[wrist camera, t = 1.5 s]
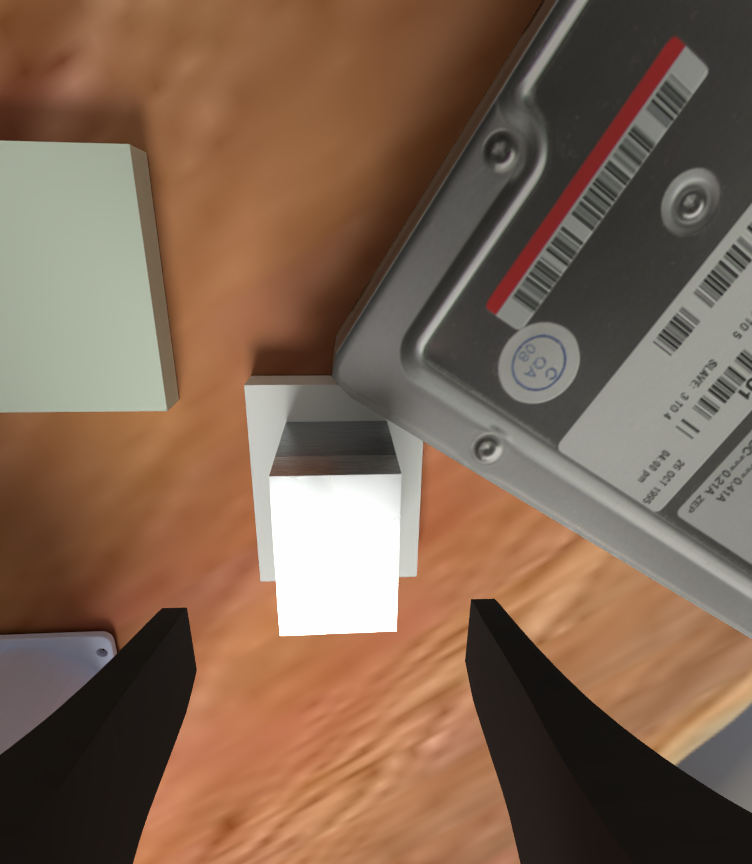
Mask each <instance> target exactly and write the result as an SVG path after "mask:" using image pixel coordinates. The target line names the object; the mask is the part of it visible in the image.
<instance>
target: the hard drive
mask: <svg viewBox="0 0 752 864" xmlns="http://www.w3.org/2000/svg"><path fill="white" fill-rule="evenodd" d="M332 378H333V379H334V380H335V381H336V382H337V383H338V385H339V386H340V387H341V388H342V389H343V390H344V391H345V392H346V393H347V394H348V395H349V396H350V397H351V398H352V399H354V400H356V401H357V402H359V403H361V404H362V405H364V406H366V407H367V408H369V409H371V410H372V411H374V412H376V413H377V414H379V415H381V416H382V417H384V418H385V419H387V420H389V421H390V422H392V423H394V424H395V425H397V426H399V427H400V428H402V429H404V430H405V431H407V432H409V433H410V434H412V435H414V436H415V437H417V438H419V439H420V440H422V441H424V442H425V443H427V444H429V445H430V446H432V447H434V448H435V449H437V450H439V451H440V452H442V453H444V454H445V455H447V456H449V457H450V458H452V459H454V460H455V461H457V462H459V463H460V464H462V465H464V466H465V467H467V468H469V469H470V470H472V471H474V472H475V473H477V474H479V475H480V476H482V477H484V478H485V479H487V480H489V481H490V482H492V483H494V484H495V485H497V486H499V487H500V488H502V489H503V490H505V491H507V492H508V493H510V494H512V495H513V496H515V497H517V498H518V499H520V500H522V501H523V502H525V503H527V504H528V505H530V506H532V507H533V508H535V509H537V510H538V511H540V512H542V513H543V514H545V515H547V516H548V517H550V518H552V519H553V520H555V521H557V522H558V523H560V524H562V525H563V526H565V527H567V528H568V529H570V530H572V531H573V532H575V533H577V534H578V535H580V536H582V537H583V538H585V539H587V540H588V541H590V542H592V543H593V544H595V545H597V546H598V547H600V548H602V549H603V550H605V551H607V552H608V553H610V554H612V555H613V556H615V557H616V558H618V559H620V560H621V561H623V562H625V563H626V564H628V565H630V566H631V567H633V568H635V569H636V570H638V571H640V572H641V573H643V574H645V575H646V576H648V577H650V578H651V579H653V580H655V581H656V582H658V583H660V584H661V585H663V586H665V587H666V588H668V589H670V590H671V591H673V592H675V593H676V594H678V595H680V596H681V597H683V598H685V599H686V600H688V601H690V602H691V603H693V604H695V605H696V606H698V607H700V608H701V609H703V610H705V611H706V612H708V613H710V614H711V615H713V616H715V617H716V618H718V619H720V620H721V621H723V622H725V623H726V624H728V625H729V626H731V627H733V628H734V629H736V630H738V631H739V632H741V633H743V634H744V635H746V636H748V637H749V638H751V639H752V0H543V1H542V3H541V5H540V6H539V8H538V9H537V11H536V13H535V14H534V16H533V17H532V19H531V21H530V22H529V24H528V26H527V27H526V29H525V30H524V32H523V34H522V35H521V37H520V39H519V40H518V42H517V43H516V45H515V47H514V48H513V50H512V51H511V53H510V55H509V56H508V58H507V60H506V61H505V63H504V64H503V66H502V68H501V69H500V71H499V72H498V74H497V76H496V77H495V79H494V81H493V82H492V84H491V85H490V87H489V89H488V90H487V92H486V93H485V95H484V97H483V98H482V100H481V102H480V103H479V105H478V106H477V108H476V110H475V111H474V113H473V114H472V116H471V118H470V119H469V121H468V123H467V124H466V126H465V127H464V129H463V131H462V132H461V134H460V136H459V137H458V139H457V140H456V142H455V144H454V145H453V147H452V148H451V150H450V152H449V153H448V155H447V157H446V158H445V160H444V161H443V163H442V165H441V166H440V168H439V169H438V171H437V173H436V174H435V176H434V178H433V179H432V181H431V182H430V184H429V186H428V187H427V189H426V190H425V192H424V194H423V195H422V197H421V199H420V200H419V202H418V203H417V205H416V207H415V208H414V210H413V211H412V213H411V215H410V216H409V218H408V220H407V221H406V223H405V224H404V226H403V228H402V229H401V231H400V233H399V234H398V236H397V237H396V239H395V241H394V242H393V244H392V245H391V247H390V249H389V250H388V252H387V254H386V255H385V257H384V258H383V260H382V262H381V263H380V265H379V266H378V268H377V270H376V271H375V273H374V275H373V276H372V278H371V279H370V281H369V283H368V284H367V286H366V287H365V289H364V291H363V292H362V294H361V296H360V297H359V299H358V300H357V302H356V304H355V305H354V307H353V308H352V310H351V312H350V313H349V315H348V317H347V318H346V320H345V321H344V323H343V325H342V326H341V328H340V329H339V331H338V333H337V335H336V341H335V347H334V353H333V367H332Z"/></svg>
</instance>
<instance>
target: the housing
mask: <svg viewBox="0 0 752 864" xmlns="http://www.w3.org/2000/svg"><path fill="white" fill-rule="evenodd" d="M401 478H402V474H401V470H400V466H399V463H398V459H397V455H396V452H395V448H394V444H393V441H392V437H391V434H390V430H389V426H388V423H387V421H322V422H286V423H285V427H284V430H283V433H282V436H281V439H280V443H279V446H278V449H277V452H276V455H275V458H274V462H273V465H272V468H271V471H270V474H269V486H270V501H271V515H272V529H273V544H274V558H275V572H276V586H277V601H278V615H279V629H280V636H287V635H312V634H336V633H361V632H386V631H396V630H397V599H398V569H399V539H400V508H401Z"/></svg>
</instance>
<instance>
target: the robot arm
mask: <svg viewBox="0 0 752 864" xmlns="http://www.w3.org/2000/svg"><path fill="white" fill-rule="evenodd" d="M102 649H105V650H107V651H104V650H102ZM465 662H466V667H467V672H468V677H469V683H470V687H471V692H472V697H473V701H474V704H475V708H476V711H477V714H478V717H479V720H480V724H481V727H482V730H483V733H484V736H485V739H486V742H487V745H488V748H489V751H490V755H491V758H492V761H493V764H494V767H495V770H496V773H497V776H498V779H499V782H500V785H501V789H502V792H503V795H504V798H505V802H506V805H507V809H508V812H509V816H510V820H511V824H512V829H513V833H514V837H515V841H516V846H517V850H518V854H519V859H520V863H521V864H752V813H751V812H749V811H747V810H745V809H743V808H742V807H740V806H738V805H737V804H734V803H733V802H731V801H729V800H728V799H726V798H724V797H723V796H721V795H719V794H718V793H716V792H715V791H713V790H712V789H710V788H708V787H707V786H705V785H704V784H702V783H700V782H699V781H697V780H696V779H694V778H693V777H691V776H690V775H688V774H687V773H685V772H684V771H682V770H680V769H679V768H678V767H676V766H675V765H673V764H672V763H670V762H669V761H668V760H666V759H665V758H663V757H662V756H660V755H659V754H658V753H656V752H655V751H654V750H652V749H651V748H649V747H648V746H647V745H645V744H644V743H643V742H641V741H640V740H639V739H637V738H636V737H635V736H633V735H632V734H631V733H629V732H628V731H627V730H626V729H624V728H623V727H622V726H620V725H619V724H618V723H617V722H616V721H614V720H613V719H612V718H611V717H610V716H608V715H607V714H606V713H605V712H604V711H602V710H601V709H600V708H599V707H598V706H596V705H595V704H594V703H593V702H592V701H591V700H590V699H588V698H587V697H586V696H585V695H584V694H583V693H582V692H581V691H580V690H579V689H578V688H577V687H576V686H575V685H574V684H573V683H571V682H570V681H569V680H568V679H567V678H566V677H565V676H564V675H563V674H562V673H561V672H560V671H559V670H558V669H557V668H556V667H555V666H554V665H553V664H552V662H551V661H550V660H549V659H548V658H547V657H546V656H545V655H544V654H543V653H542V652H541V651H540V650H539V649H538V648H537V647H536V645H535V644H534V643H533V642H532V641H531V640H530V639H529V638H528V637H527V635H526V634H525V633H524V632H523V631H522V630H521V629H520V627H519V626H518V625H517V624H516V623H515V622H514V621H513V619H512V618H511V617H510V616H509V615H508V613H507V612H506V611H505V610H504V609H503V608H502V606H501V605H500V604H499V603H498V602H497V601H496V600H495V599H471V607H470V617H469V627H468V638H467V648H466V658H465ZM196 671H197V669H196V662H195V656H194V650H193V643H192V637H191V631H190V625H189V618H188V612H187V608H162V609H161V610H160V611H159V612H158V613H157V614H156V615H155V616H154V617H153V618H152V619H151V620H150V621H149V622H148V623H147V624H146V625H145V626H144V627H143V628H142V629H141V630H140V631H139V632H138V633H137V634H136V635H135V636H134V637H133V638H132V639H131V640H130V641H129V642H128V643H127V644H126V645H125V646H124V647H123V648H122V649H121V650H120V651H119V652H118V653H117V650H116V646H115V641H114V638H113V636H112V635H111V634H110V633H108V632H105V631H91V632H65V633H39V634H14V635H0V864H133V861H134V858H135V854H136V851H137V847H138V843H139V840H140V837H141V834H142V831H143V828H144V825H145V822H146V819H147V816H148V813H149V810H150V808H151V805H152V802H153V800H154V797H155V794H156V792H157V789H158V786H159V784H160V781H161V778H162V776H163V773H164V771H165V768H166V765H167V763H168V760H169V757H170V755H171V752H172V749H173V747H174V744H175V741H176V739H177V736H178V733H179V731H180V728H181V725H182V723H183V720H184V717H185V714H186V711H187V707H188V704H189V700H190V696H191V692H192V688H193V684H194V680H195V675H196Z"/></svg>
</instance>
